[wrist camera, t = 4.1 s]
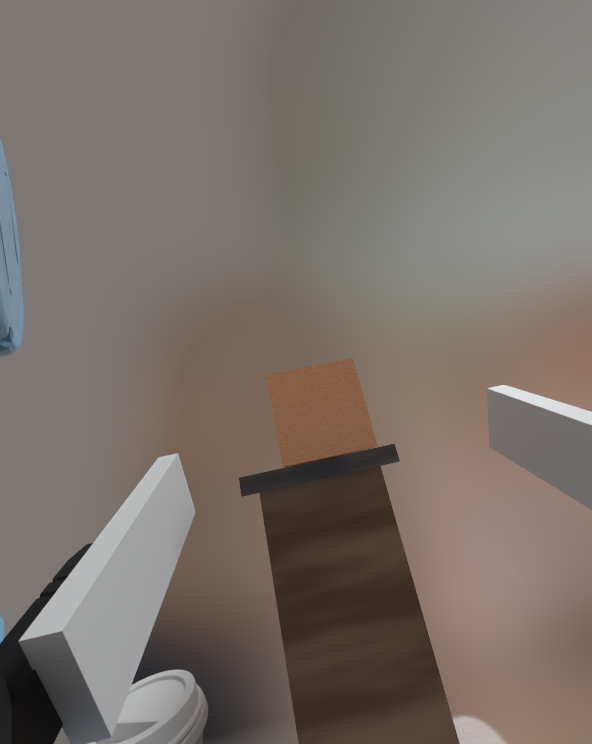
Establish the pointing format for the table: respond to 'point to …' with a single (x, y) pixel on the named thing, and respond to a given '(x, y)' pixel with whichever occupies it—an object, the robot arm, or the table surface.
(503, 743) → the table surface
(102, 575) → the robot arm
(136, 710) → the coffee cup
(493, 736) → the table surface
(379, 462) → the post
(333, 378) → the wood grain block
